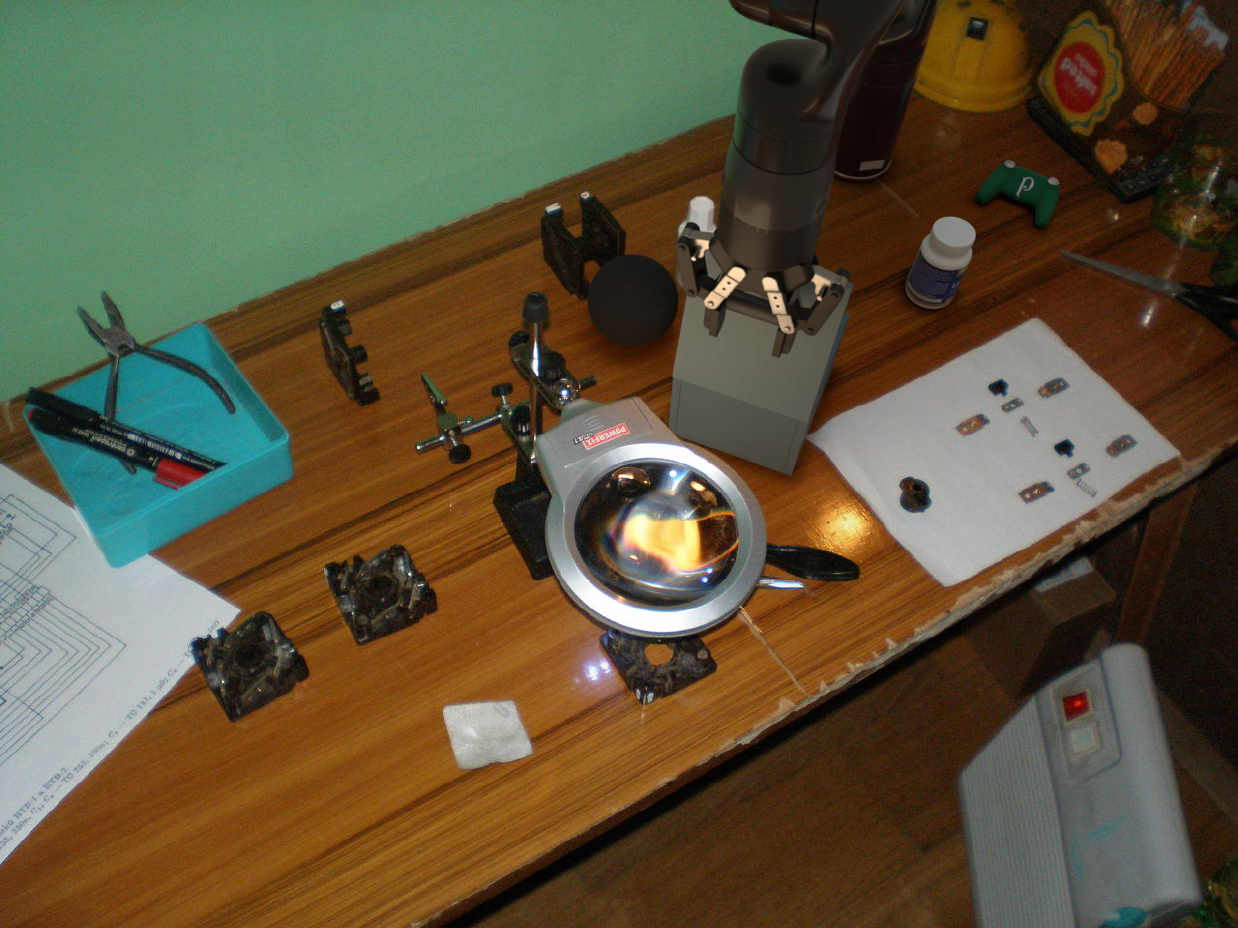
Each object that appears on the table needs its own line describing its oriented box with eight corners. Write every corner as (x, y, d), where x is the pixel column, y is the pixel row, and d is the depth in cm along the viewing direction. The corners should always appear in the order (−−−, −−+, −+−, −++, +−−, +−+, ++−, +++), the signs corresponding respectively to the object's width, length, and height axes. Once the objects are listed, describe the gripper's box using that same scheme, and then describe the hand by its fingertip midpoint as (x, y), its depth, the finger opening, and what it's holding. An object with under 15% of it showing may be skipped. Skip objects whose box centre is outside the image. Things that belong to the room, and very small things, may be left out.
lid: (699, 236, 85) (679, 267, 81) (854, 284, 82) (839, 318, 79) (674, 371, 96) (656, 403, 93) (809, 418, 93) (795, 452, 90)
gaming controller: (1043, 231, 123) (1068, 186, 122) (1044, 228, 120) (1070, 181, 118) (974, 203, 126) (998, 158, 124) (973, 199, 122) (997, 153, 121)
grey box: (714, 333, 112) (723, 273, 103) (831, 371, 109) (850, 313, 101) (667, 432, 105) (673, 377, 96) (791, 476, 102) (807, 423, 93)
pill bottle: (952, 314, 114) (980, 254, 105) (902, 306, 114) (926, 245, 106) (953, 278, 117) (981, 216, 108) (905, 270, 117) (928, 208, 109)
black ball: (662, 374, 109) (667, 315, 100) (576, 352, 110) (574, 292, 102) (685, 308, 114) (692, 246, 105) (603, 288, 115) (603, 226, 107)
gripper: (887, 183, 70) (840, 333, 84) (699, 129, 73) (684, 283, 87) (859, 255, 66) (814, 399, 81) (661, 195, 69) (653, 345, 84)
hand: (747, 338), depth 84 cm, fingers closed on lid, 5 cm apart
